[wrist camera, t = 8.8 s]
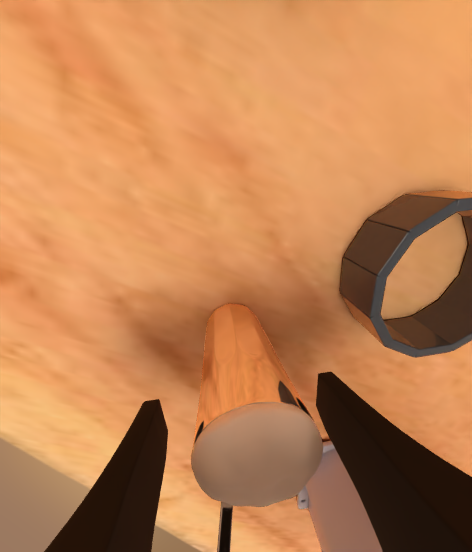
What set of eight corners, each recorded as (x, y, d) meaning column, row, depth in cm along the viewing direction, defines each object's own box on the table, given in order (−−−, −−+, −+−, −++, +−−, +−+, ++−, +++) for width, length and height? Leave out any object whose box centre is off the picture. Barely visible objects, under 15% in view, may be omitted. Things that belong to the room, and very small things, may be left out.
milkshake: (179, 348, 16) (148, 581, 7) (217, 281, 15) (242, 464, 5) (238, 369, 17) (280, 587, 8) (279, 309, 16) (384, 494, 7)
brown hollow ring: (452, 316, 18) (501, 344, 15) (334, 334, 17) (361, 366, 14) (495, 185, 14) (569, 187, 12) (348, 199, 14) (388, 206, 11)
